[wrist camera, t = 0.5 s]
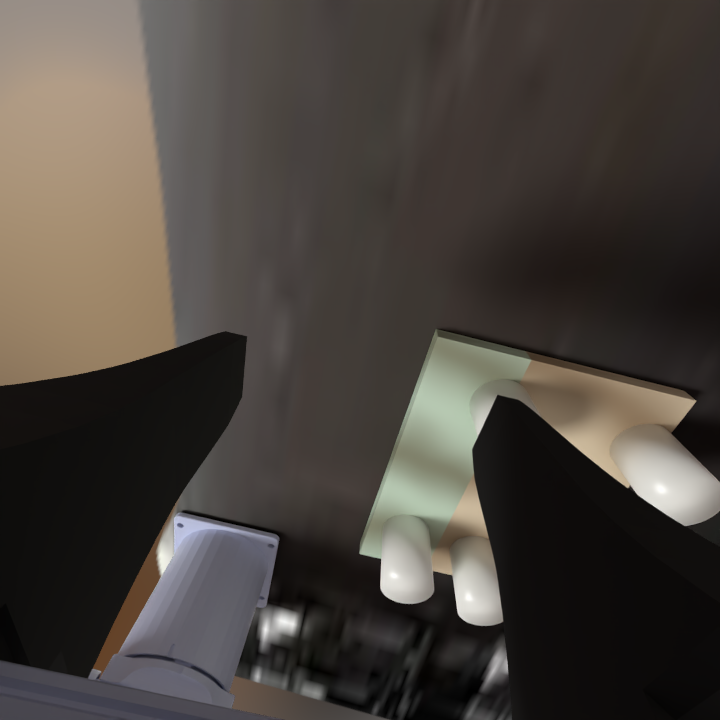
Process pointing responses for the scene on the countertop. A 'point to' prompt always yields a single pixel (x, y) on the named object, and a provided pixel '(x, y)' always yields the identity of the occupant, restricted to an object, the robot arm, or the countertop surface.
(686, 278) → the countertop surface
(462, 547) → the spacers
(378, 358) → the countertop surface
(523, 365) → the board
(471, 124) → the countertop surface
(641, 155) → the countertop surface
